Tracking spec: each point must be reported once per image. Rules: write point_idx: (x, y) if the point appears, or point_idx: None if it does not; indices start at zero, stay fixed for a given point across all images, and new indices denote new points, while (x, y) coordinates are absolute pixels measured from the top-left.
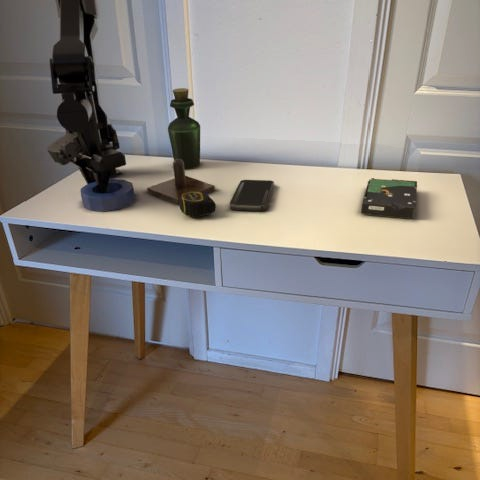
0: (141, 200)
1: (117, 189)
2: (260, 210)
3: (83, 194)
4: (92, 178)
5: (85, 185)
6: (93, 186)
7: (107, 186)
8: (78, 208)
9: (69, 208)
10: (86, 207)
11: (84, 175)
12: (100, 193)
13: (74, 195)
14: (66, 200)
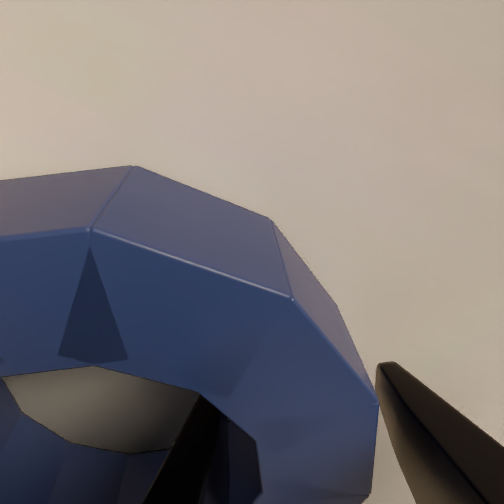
0: None
1: None
2: None
3: (24, 245)
4: (427, 487)
5: (353, 376)
6: (244, 422)
7: (242, 481)
8: (133, 101)
9: (204, 10)
10: (66, 174)
11: (486, 496)
12: None
13: (494, 220)
14: (457, 99)
